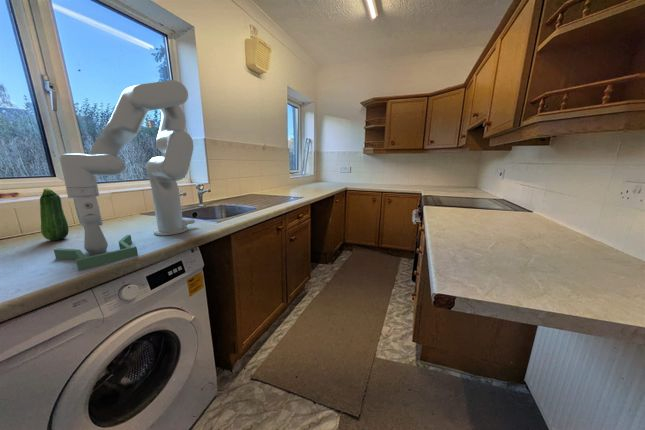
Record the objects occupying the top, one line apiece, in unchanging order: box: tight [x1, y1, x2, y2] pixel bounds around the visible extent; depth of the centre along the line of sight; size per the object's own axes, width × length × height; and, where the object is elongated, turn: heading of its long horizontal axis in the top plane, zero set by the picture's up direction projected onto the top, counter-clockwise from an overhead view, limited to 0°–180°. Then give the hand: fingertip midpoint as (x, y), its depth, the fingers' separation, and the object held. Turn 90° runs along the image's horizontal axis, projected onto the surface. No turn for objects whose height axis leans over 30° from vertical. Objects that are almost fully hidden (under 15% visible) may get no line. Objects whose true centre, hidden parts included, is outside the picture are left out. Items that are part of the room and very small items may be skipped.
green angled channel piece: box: [53, 234, 139, 271], centre depth 80 cm, size 20×18×3 cm
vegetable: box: [39, 188, 70, 241], centre depth 93 cm, size 7×7×20 cm
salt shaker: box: [81, 214, 109, 256], centre depth 81 cm, size 6×6×13 cm
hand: (93, 245), depth 85 cm, fingers closed
